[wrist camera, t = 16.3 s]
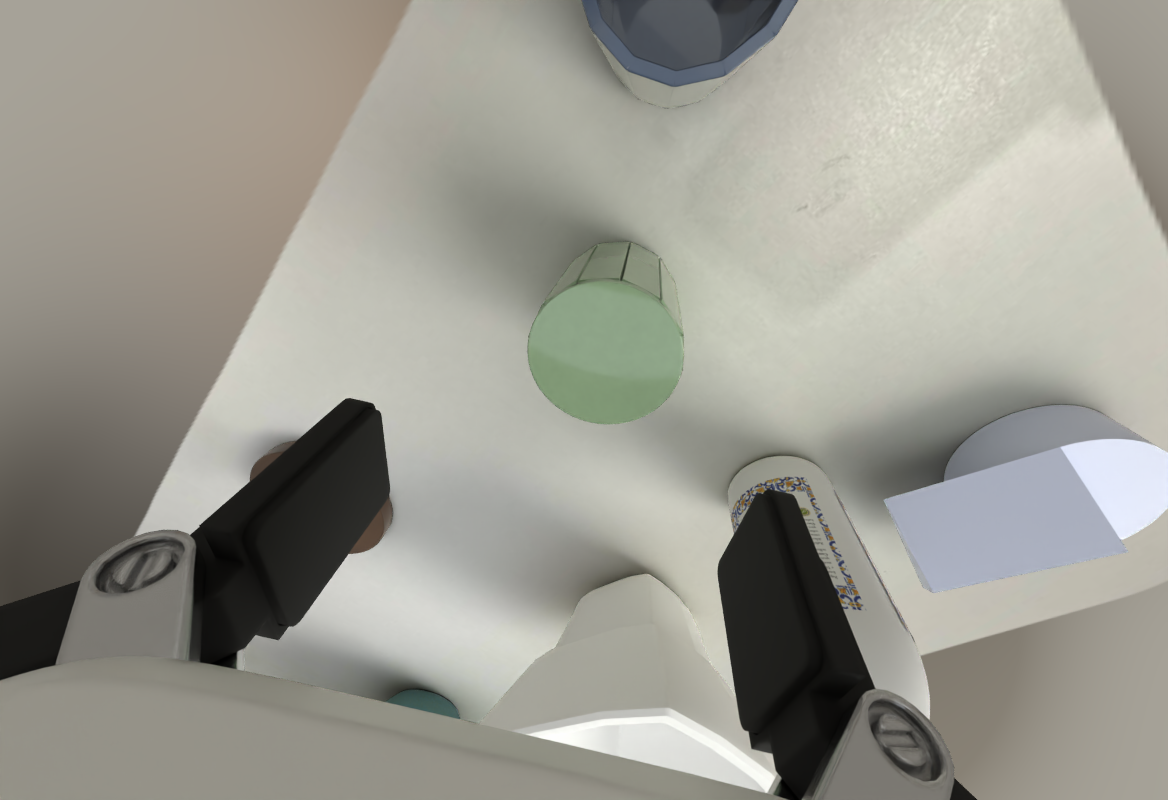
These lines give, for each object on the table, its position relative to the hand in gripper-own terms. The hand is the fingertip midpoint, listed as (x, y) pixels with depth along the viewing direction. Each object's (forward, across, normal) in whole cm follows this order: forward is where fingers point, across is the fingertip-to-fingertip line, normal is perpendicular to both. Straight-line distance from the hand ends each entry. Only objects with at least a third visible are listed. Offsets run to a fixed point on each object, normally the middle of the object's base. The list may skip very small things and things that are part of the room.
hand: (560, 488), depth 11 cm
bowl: (+16, -8, +28) cm, 34 cm away
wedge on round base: (+16, -27, +7) cm, 32 cm away
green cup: (+17, 0, +1) cm, 17 cm away
